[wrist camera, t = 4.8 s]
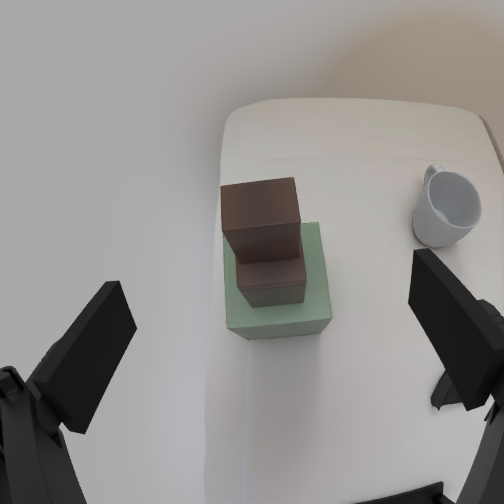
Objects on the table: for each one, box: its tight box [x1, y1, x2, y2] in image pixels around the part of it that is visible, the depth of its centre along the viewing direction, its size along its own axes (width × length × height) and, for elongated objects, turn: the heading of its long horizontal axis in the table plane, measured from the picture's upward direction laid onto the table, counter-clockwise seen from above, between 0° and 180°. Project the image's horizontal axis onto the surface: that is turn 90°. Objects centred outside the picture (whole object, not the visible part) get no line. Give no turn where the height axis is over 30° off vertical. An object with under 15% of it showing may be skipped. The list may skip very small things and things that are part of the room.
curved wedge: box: [431, 371, 463, 410], centre depth 36 cm, size 8×14×2 cm, turn 106°
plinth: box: [223, 222, 332, 340], centre depth 38 cm, size 10×10×14 cm
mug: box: [413, 164, 482, 248], centre depth 41 cm, size 13×9×10 cm
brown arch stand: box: [220, 177, 307, 308], centre depth 25 cm, size 5×6×14 cm
